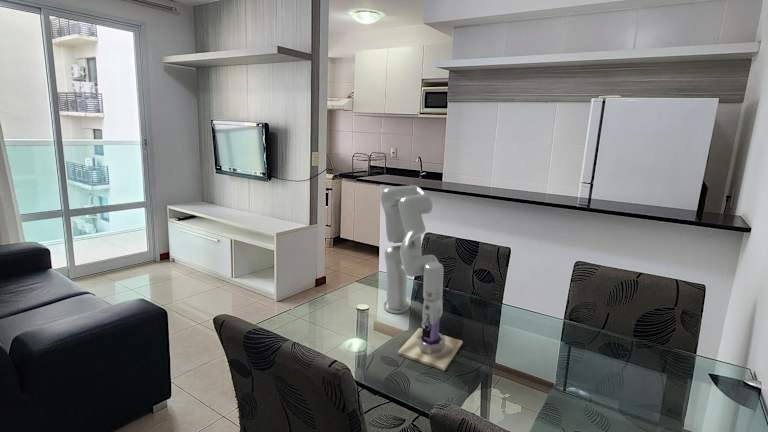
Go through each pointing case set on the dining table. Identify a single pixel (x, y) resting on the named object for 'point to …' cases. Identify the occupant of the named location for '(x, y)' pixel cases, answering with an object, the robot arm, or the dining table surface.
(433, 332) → the beverage can
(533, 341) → the dining table surface
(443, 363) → the rosette socket
